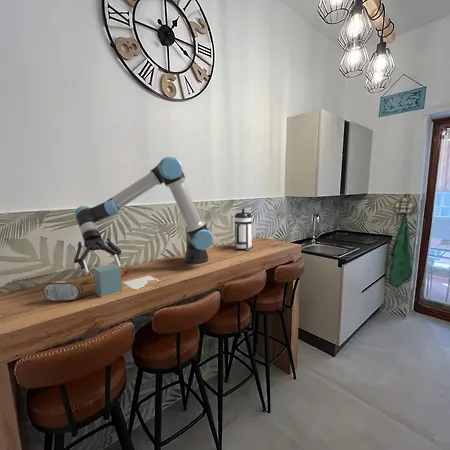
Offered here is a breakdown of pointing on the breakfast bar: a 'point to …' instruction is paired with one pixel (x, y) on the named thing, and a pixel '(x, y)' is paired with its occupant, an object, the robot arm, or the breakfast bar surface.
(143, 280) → the mat
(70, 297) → the tin
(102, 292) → the grey-blue rectangular block
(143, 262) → the breakfast bar surface
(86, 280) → the croissant
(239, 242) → the coffee press
